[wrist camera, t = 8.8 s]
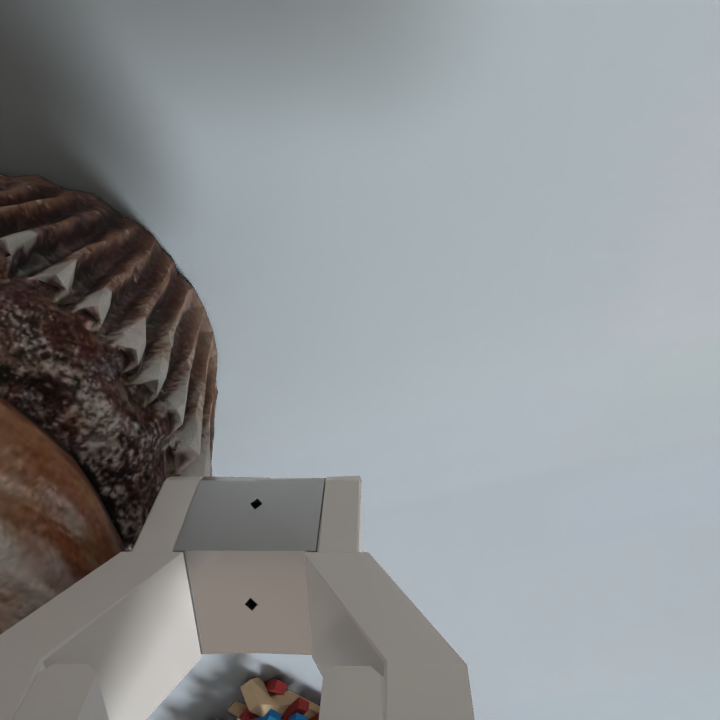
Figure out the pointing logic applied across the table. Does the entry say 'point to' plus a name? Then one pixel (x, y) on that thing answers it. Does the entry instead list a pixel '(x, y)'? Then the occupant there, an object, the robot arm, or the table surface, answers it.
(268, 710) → the woven mat
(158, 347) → the cupcake
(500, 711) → the table surface
